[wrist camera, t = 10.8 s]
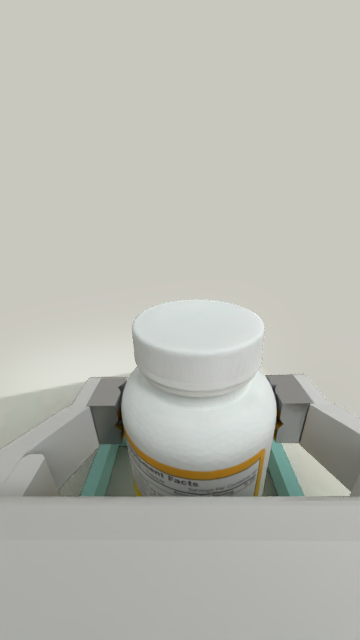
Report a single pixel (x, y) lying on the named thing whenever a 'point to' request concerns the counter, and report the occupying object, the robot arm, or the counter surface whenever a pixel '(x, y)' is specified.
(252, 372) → the supplement bottle
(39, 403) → the counter surface
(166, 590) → the robot arm
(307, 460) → the counter surface
